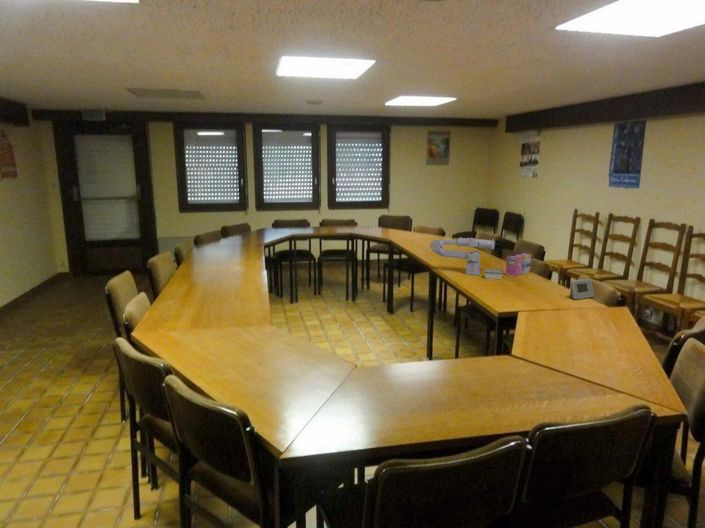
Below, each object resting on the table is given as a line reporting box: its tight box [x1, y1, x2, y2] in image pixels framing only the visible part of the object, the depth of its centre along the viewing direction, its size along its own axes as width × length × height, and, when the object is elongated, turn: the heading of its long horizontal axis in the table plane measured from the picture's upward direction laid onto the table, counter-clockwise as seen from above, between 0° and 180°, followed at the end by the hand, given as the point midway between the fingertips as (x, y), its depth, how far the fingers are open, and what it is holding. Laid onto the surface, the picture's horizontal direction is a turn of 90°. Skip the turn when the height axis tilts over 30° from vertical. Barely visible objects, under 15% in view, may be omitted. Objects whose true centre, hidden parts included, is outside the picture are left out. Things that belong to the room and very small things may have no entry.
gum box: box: [504, 251, 533, 277], centre depth 339 cm, size 24×8×14 cm, turn 134°
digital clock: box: [569, 278, 595, 300], centre depth 278 cm, size 16×9×11 cm, turn 103°
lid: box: [484, 265, 506, 275], centre depth 323 cm, size 14×9×4 cm, turn 74°
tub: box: [484, 272, 503, 280], centre depth 324 cm, size 11×8×4 cm
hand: (505, 246), depth 326 cm, fingers open, 7 cm apart
